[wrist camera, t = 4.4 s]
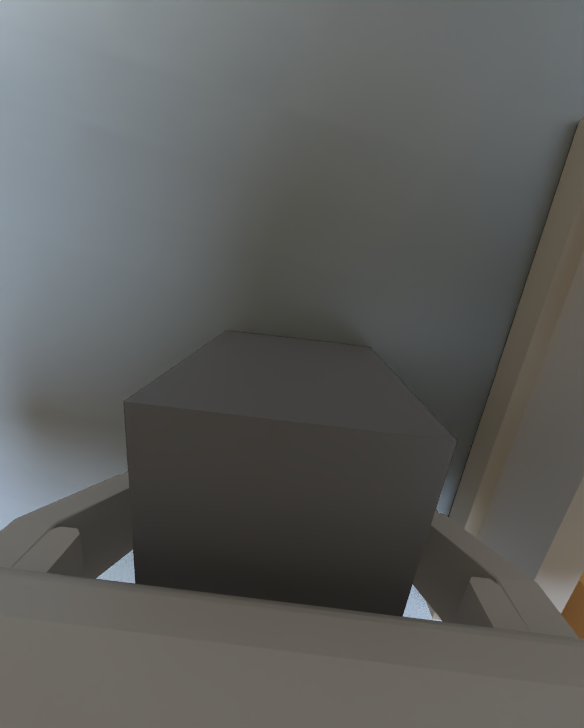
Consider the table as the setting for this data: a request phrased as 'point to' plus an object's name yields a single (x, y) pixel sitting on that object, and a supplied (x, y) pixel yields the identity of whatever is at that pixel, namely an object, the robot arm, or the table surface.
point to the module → (283, 474)
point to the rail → (539, 418)
